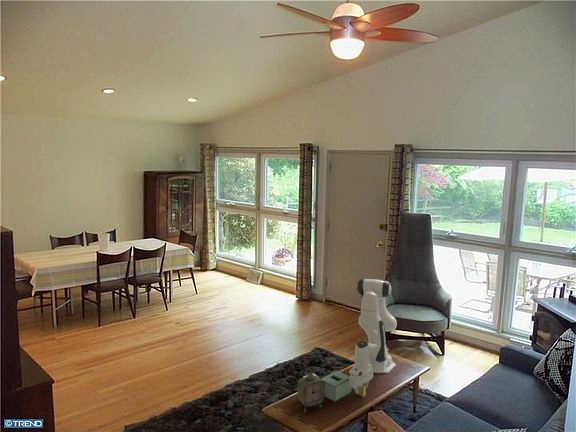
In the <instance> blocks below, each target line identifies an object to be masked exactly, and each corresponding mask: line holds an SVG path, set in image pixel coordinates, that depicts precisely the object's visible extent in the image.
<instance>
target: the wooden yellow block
mask: <svg viewBox="0 0 576 432" xmlns="http://www.w3.org/2000/svg"><path fill="white" fill-rule="evenodd" d="M357 389H358V390H359V391H358V393H356V395H358V396H360V397H362V398H363V397H366V395H367V394H366V393H367V388H366V386H364V384H362V385H360V386H358V388H357Z"/></svg>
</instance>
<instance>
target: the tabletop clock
mask: <svg viewBox="0 0 576 432" xmlns="http://www.w3.org/2000/svg"><path fill="white" fill-rule="evenodd" d="M310 369H314V371H310V372H309V373H308V370H310ZM316 371H317V368H316V367H314V366H310V367H307V368H306V369H305V374H306V375H307V377H305V378H303V377H302V378H300V379H299V380H298V381H297V388H296V393H297V400H298V401H299V402H300V404H302V406H304V409H303V412H304V413H306V412H307V408H309V407H315V406H317V405H319V408H322V407H323V405H322V404H321V403H323V402H324V401H325V398H326V397H325V384H324V381H323V380H321V378H320V376H318V375H317V376H318V377H317V376H314V375H313V373H314V374H315V373H316Z"/></svg>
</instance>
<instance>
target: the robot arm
mask: <svg viewBox="0 0 576 432" xmlns="http://www.w3.org/2000/svg"><path fill="white" fill-rule="evenodd" d="M391 285H392V284H391V283H390V282H389V281H387V280H382V279H375V278H374V279H373V278H360V279H359V280H358V281H357V283H356V290H357V293H358V295H360V296H361V297H362V299H361V305H360V315H359V317H358V324H359V327H361V328H362V329H363V331H364V332H365V333H366V334H367V338H368V342H367V341H364V340H359V341H357V343H356V344H355V347H354V349H355V350H354V359H355V361H354V365H353V366H352V368H350V370H349V373H348V374H349V375H348V376H349V386H350V387H351V388H352V389H353V390H354V393H355V394H357V393H358V391H359V390H358V389H357V388H358V386H360V385H364V386H366V389H367V388H368V387H369V383H370V380H372V379H373V378H374V373H375V374H389V373H390V371H392V370H393V369H394V368H395V367H396V363H395V362H394V361H393V357H392V356H391V355H390V354H389V353H388V352H389V351H390V349H389V348H388V346H387V339H386V332H394V331H395V330H396V328H397V325H398V323H397V322H398V321H397V320H396V319H397V318H395V316H393V315H392V314H391V313H390V311H389V310H388V309H387V304H386V298H388V297H389V296H390V295H391V292H392V286H391Z"/></svg>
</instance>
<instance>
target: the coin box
mask: <svg viewBox="0 0 576 432" xmlns="http://www.w3.org/2000/svg"><path fill="white" fill-rule="evenodd" d="M349 376H350V375H347V374H345V373H343V372H341V371H338V370H336V371H334V372H332V373H329V374H328V375H325V376H323V377H322V378H320V379H321V380H323V381H324V384H325V397H324V398H326V399H329V400H330V401H332V402H334V403H336V402H337V401H339V400H341V399H343V398H344V397H346V396H348V395H350V394H351V393H352V389H353V388H351V387H350V386H349Z"/></svg>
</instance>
